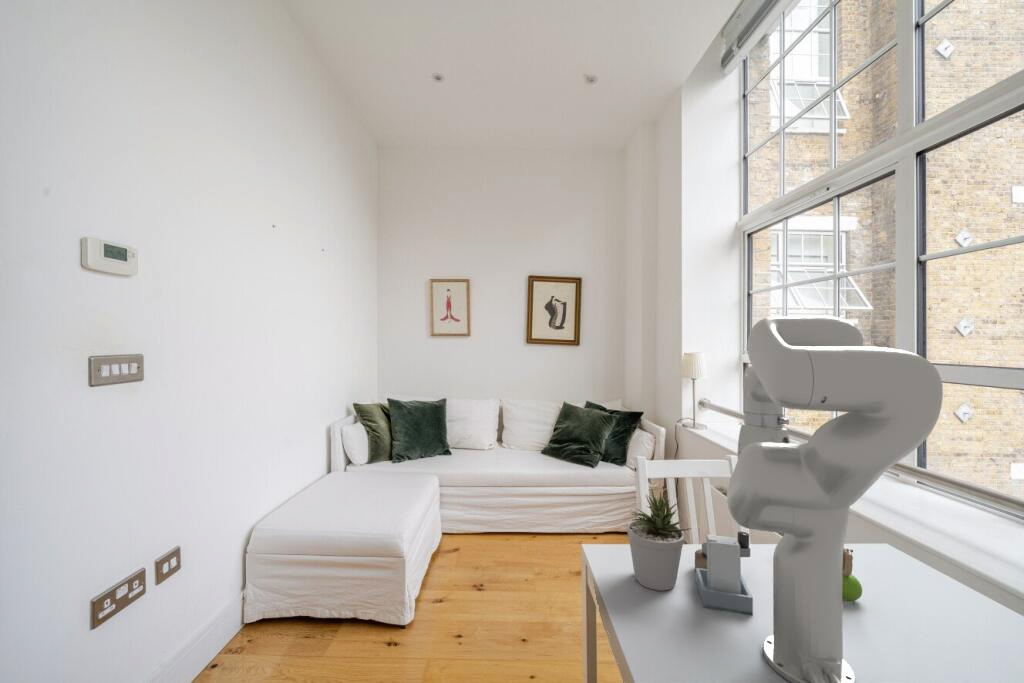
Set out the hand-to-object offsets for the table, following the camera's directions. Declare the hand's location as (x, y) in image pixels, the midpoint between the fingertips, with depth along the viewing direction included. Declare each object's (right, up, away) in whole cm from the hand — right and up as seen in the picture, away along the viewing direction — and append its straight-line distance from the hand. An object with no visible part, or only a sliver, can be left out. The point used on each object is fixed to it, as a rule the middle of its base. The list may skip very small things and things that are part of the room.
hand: (763, 501), depth 94 cm
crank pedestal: (-9, -19, +5) cm, 22 cm away
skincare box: (-12, -18, -5) cm, 23 cm away
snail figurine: (+15, -19, -5) cm, 25 cm away
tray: (-12, -19, -5) cm, 23 cm away
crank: (-6, -15, +5) cm, 17 cm away
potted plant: (-23, -19, +1) cm, 30 cm away
